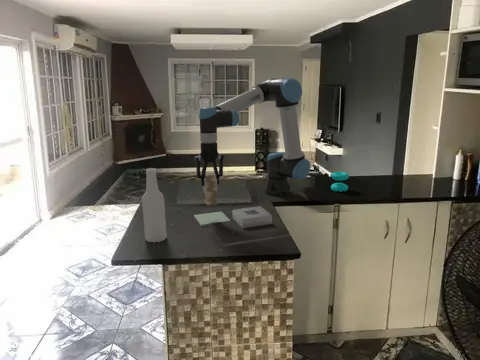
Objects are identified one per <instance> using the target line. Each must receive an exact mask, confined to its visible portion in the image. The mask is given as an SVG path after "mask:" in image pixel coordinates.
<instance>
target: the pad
mask: <svg viewBox="0 0 480 360" xmlns="http://www.w3.org/2000/svg"><path fill="white" fill-rule="evenodd" d="M193 218H194V219H195V221H196V222H197V223H198V224H199V226H200V227H209V224H216V223H222V222H223V223H224V222H230V221H231V219H229V217H227V215H226V214H225V213H224V212H223V211H214V212H207V213H199V214H194V215H193Z"/></svg>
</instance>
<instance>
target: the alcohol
mask: <svg viewBox="0 0 480 360" xmlns="http://www.w3.org/2000/svg"><path fill="white" fill-rule="evenodd" d="M156 170H157V169H156V167H155V168H153V167H148V168H147V169H145V174H146V175H145V176H146V180H145V181H146V182H145V183H146V185H145V186H146V189H145V192H144V193H143V196H142V197H141V198H142V199H141V204H142V206H141V207H142V216H143V228H144V230H143V231H144V239H145V241H146V242H148V243H150V242H153V243H152V244H154V243H155V242H158V243H161V241H162V242H164V241H165V240H166V238H167V237H168V236H167V221H166V207H165V197H164V194H163V193H162V192H161V191H160V190H159V185H158V179H157V171H156ZM155 244H156V243H155Z"/></svg>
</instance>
